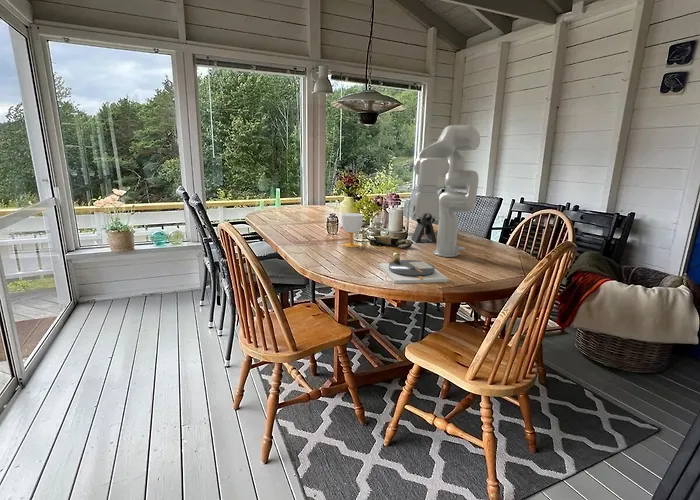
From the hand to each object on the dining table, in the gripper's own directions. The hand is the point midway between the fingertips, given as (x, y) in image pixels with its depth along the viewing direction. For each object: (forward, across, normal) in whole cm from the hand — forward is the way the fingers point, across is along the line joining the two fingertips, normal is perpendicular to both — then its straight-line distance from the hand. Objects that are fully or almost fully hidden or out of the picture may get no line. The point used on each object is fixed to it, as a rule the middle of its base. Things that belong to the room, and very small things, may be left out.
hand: (424, 234), depth 158 cm
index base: (+17, +5, 0) cm, 17 cm away
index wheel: (+15, +5, 0) cm, 16 cm away
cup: (+17, +22, -52) cm, 59 cm away
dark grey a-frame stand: (+3, 0, 0) cm, 3 cm away
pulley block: (+17, 0, -54) cm, 57 cm away
